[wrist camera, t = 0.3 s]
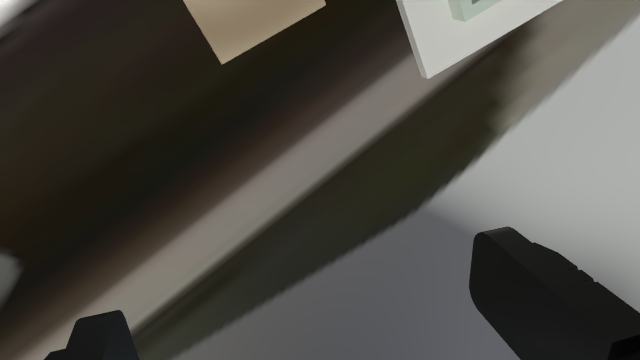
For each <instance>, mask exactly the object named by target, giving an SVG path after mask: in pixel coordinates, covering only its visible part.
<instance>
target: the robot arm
mask: <svg viewBox="0 0 640 360" xmlns="http://www.w3.org/2000/svg"><path fill="white" fill-rule="evenodd" d="M469 289H470V294H471V297H472V300H473V302H474V304H475V306H476V308H477V309H478V311H479V312H480V313H481V314H482V315H483V316H484V317H485V319H486V320H487V321H488V322H489V323H490V324H491V326H492V327H493V328H494V329H495V330H496V332H497V333H498V334H499V335H500V336H501V337H502V338H503V340H504V341H505V342H506V343H507V344H508V345H509V347H510V348H511V349H512V350H513V351H514V352H515V354H516V355H517V356H518V357H519V358H520V359H521V360H640V313H639V312H638V311H636V310H635V309H633V308H632V307H631V306H629V305H628V304H626V303H625V302H624V301H623V300H621V299H620V298H619V297H617V296H616V295H614V294H613V293H612V292H610V291H609V290H608V289H607V288H605V287H604V286H603V285H601V284H600V283H598V282H594V280H593V278H591V277H590V276H589V275H588V274H586V273H585V272H583V271H582V270H578V268H577V266H576V265H574V264H573V263H571V262H570V261H569V260H567V259H566V258H565V257H563V256H562V255H561V254H559V253H558V252H555V251H553V250H551V249H548V248H546V247H544V246H542V245H539V244H537V243H532V242H530V241H529V240H528V239H526V238H525V237H524V236H522V235H521V234H520V233H518V232H517V231H516V230H515V229H513V228H511V227H503V228H498V229H494V230H489V231H485V232H480V233H478V234H477V235H476V236H475V238H474V243H473V251H472V261H471V271H470V280H469ZM44 360H140V358H139V356H138V353H137V350H136V347H135V344H134V342H133V339H132V336H131V333H130V330H129V328H128V325H127V322H126V319H125V317H124V315H123V313H122V312H121V311H120V310H116V311H112V312H107V313H102V314H98V315H93V316H89V317H84V318H80V319H78V320H77V321H76V323H75V325H74V328H73V330H72V333H71V336H70V338H69V341H68V344H67V346H66V349H62V350H58V351H54V352H50V353H49V354H48V356H47V357H46V358H45V359H44Z"/></svg>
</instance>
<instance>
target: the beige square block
mask: <svg viewBox="0 0 640 360" xmlns="http://www.w3.org/2000/svg"><path fill="white" fill-rule="evenodd" d="M183 1H184V3H185V4H186V6H187V8H188V9H189V11H190V13H191V14H192V16H193V17H194V19H195V21H196V22H197V24H198V26H199V27H200V29H201V31H202V32H203V34H204V36H205V37H206V39H207V40H208V42H209V44H210V45H211V47H212V49H213V50H214V52H215V54H216V55H217V57H218V58H219V60H220V62H221V63H222V64H224V63H226V62H227V61H229V60H231V59H233V58H234V57H236V56H238V55H240V54H241V53H243V52H245V51H247V50H248V49H250V48H252V47H254V46H255V45H257V44H259V43H261V42H262V41H264V40H266V39H267V38H269V37H271V36H273V35H274V34H276V33H278V32H280V31H281V30H283V29H285V28H287V27H288V26H290V25H292V24H294V23H295V22H297V21H299V20H301V19H302V18H304V17H306V16H308V15H309V14H311V13H313V12H315V11H316V10H318V9H320V8H322V7H323V6H325V5H326V3H325V1H324V0H183Z"/></svg>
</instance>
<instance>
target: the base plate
mask: <svg viewBox="0 0 640 360" xmlns="http://www.w3.org/2000/svg"><path fill="white" fill-rule="evenodd" d="M560 1H562V0H396V2H397V5H398V8H399V11H400V14H401V17H402V20H403V23H404V26H405V29H406V32H407V35H408V38H409V41H410V44H411V47H412V50H413V53H414V56H415V59H416V62H417V65H418V68H419V71H420V74H421V76H422V77H424V78H426V79H429V78H431V77H432V76H434V75H436V74H437V73H439V72H441V71H442V70H444V69H446V68H448V67H449V66H451V65H453V64H454V63H456V62H458V61H460V60H461V59H463V58H465V57H466V56H468V55H470V54H472V53H473V52H475V51H477V50H478V49H480V48H482V47H484V46H485V45H487V44H489V43H490V42H492V41H494V40H495V39H497V38H499V37H501V36H502V35H504V34H506V33H507V32H509V31H511V30H513V29H514V28H516V27H518V26H519V25H521V24H523V23H525V22H526V21H528V20H530V19H531V18H533V17H535V16H536V15H538V14H540V13H542V12H543V11H545V10H547V9H548V8H550V7H552V6H554V5H555V4H557V3H559V2H560Z"/></svg>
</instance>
